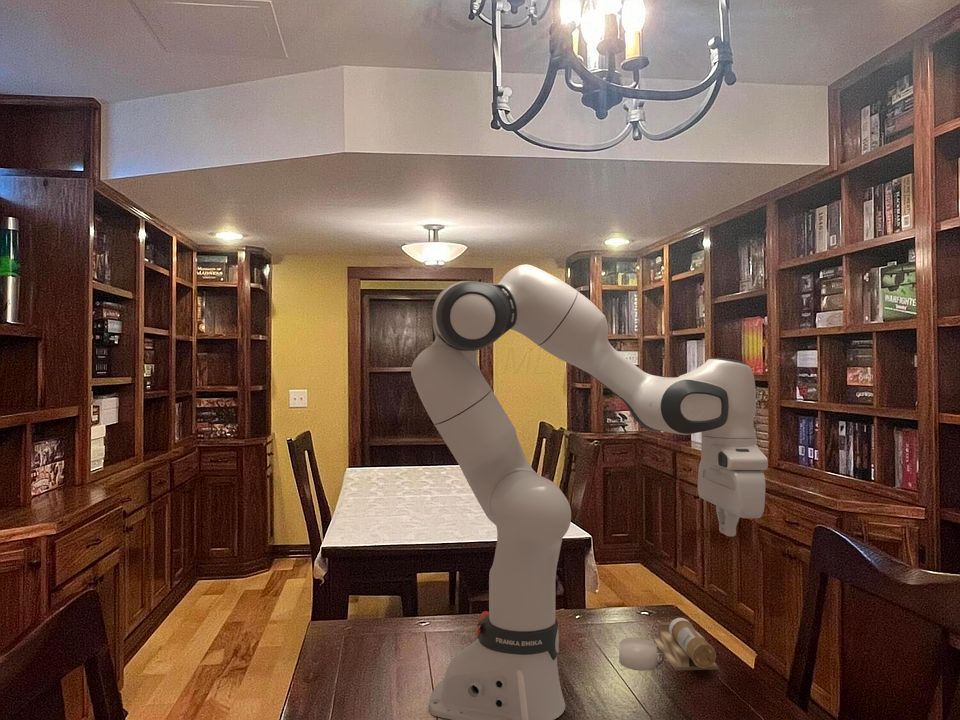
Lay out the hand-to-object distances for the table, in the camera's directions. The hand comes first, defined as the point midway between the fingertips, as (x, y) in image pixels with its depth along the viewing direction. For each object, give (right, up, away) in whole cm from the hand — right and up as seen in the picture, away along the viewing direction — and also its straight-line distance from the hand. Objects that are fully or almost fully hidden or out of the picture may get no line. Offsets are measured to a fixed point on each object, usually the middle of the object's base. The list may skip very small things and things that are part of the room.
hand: (727, 534), depth 123 cm
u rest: (-2, -28, +18) cm, 33 cm away
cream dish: (-12, -28, +14) cm, 34 cm away
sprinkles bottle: (-2, -24, +7) cm, 25 cm away
